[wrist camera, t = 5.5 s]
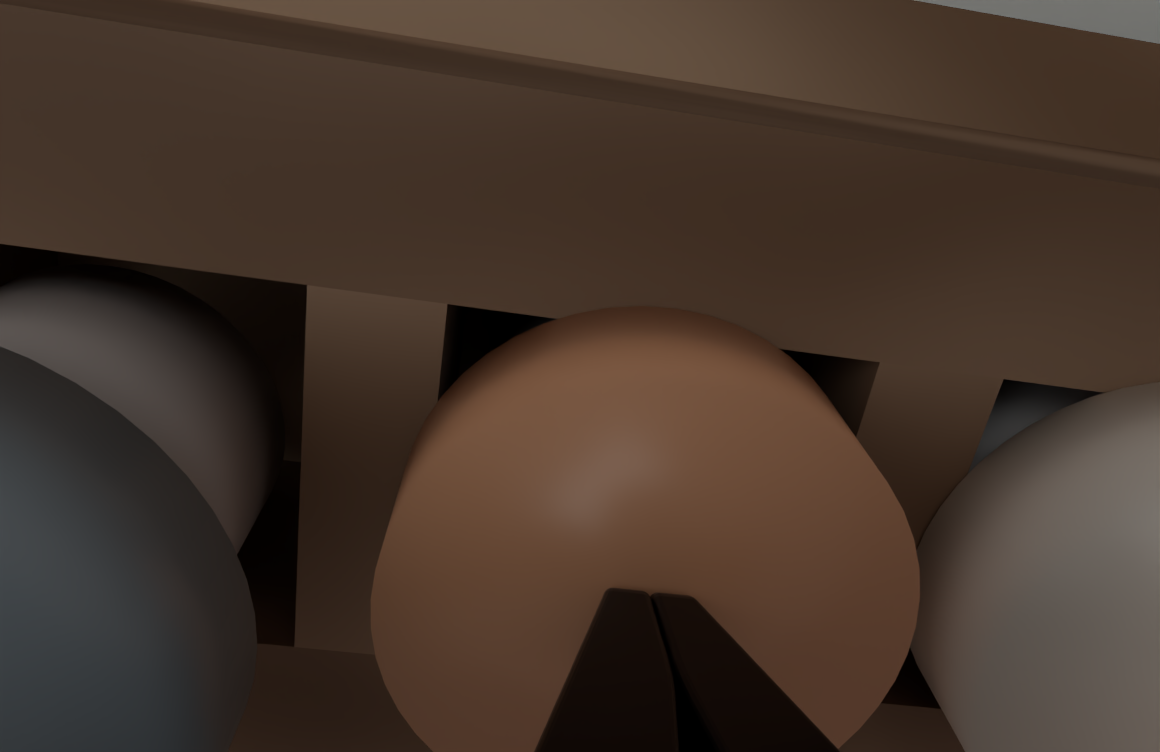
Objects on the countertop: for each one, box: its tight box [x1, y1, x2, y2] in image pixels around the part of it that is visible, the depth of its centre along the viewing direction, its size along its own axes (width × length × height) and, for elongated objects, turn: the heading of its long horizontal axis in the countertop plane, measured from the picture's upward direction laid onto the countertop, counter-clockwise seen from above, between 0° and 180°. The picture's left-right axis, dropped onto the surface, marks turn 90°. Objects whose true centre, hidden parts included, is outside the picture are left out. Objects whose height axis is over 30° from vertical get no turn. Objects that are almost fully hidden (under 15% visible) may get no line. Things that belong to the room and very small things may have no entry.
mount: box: [0, 0, 1160, 752], centre depth 12 cm, size 12×23×5 cm, turn 81°
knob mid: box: [371, 306, 920, 752], centre depth 11 cm, size 5×5×5 cm
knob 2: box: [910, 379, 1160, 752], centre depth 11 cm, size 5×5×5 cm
